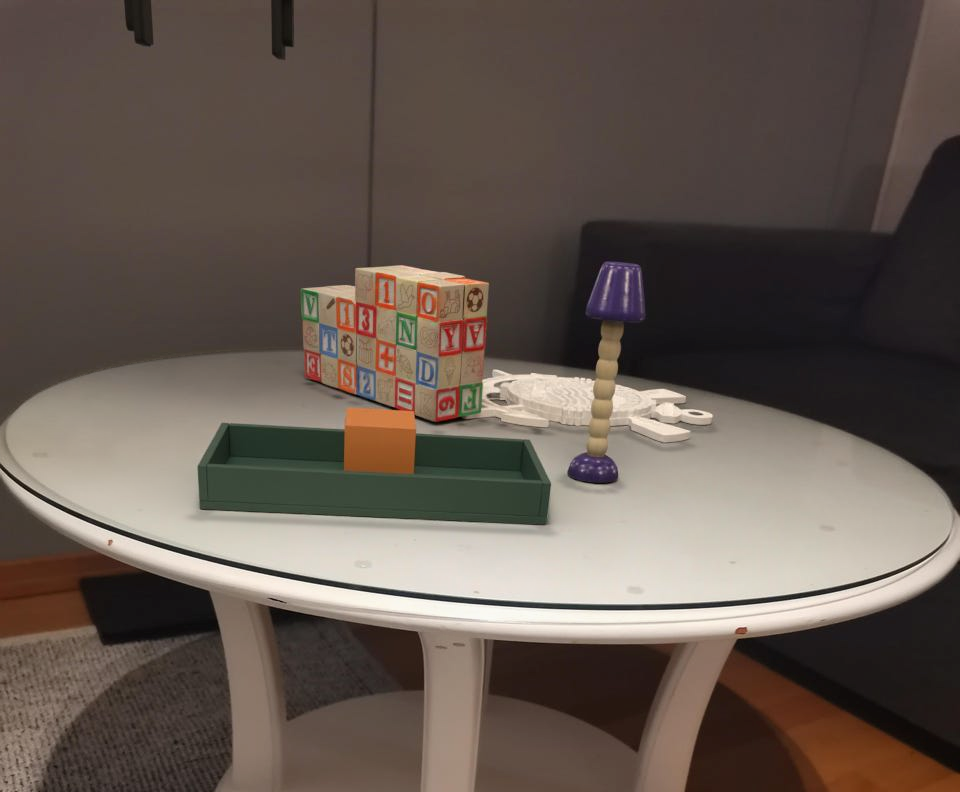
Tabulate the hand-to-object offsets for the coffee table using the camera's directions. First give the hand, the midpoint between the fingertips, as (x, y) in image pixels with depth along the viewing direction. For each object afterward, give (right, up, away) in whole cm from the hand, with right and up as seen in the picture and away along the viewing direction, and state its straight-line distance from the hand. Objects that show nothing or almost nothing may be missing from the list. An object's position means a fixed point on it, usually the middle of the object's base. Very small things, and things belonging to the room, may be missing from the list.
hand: (212, 51), depth 71 cm
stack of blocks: (+10, -18, +29) cm, 35 cm away
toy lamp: (+29, -29, +10) cm, 43 cm away
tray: (+12, -32, +2) cm, 34 cm away
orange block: (+12, -31, +2) cm, 34 cm away
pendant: (+30, -19, +32) cm, 48 cm away
